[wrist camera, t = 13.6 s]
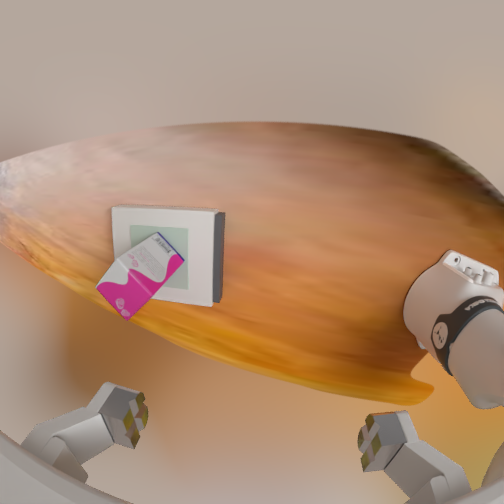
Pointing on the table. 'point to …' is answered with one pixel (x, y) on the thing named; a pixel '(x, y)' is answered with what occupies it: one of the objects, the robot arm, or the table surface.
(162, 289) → the dock
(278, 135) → the table surface
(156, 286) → the supplement box
